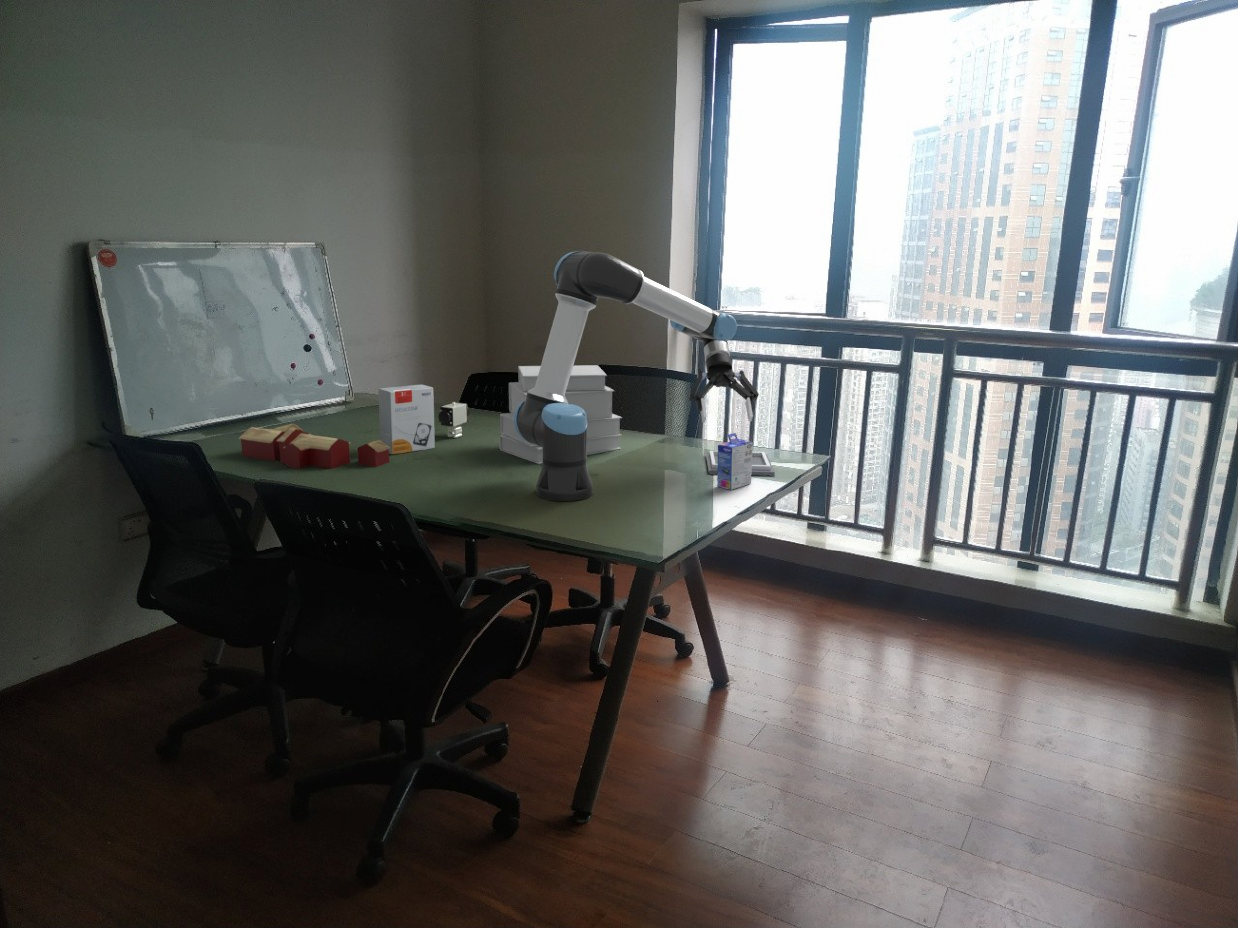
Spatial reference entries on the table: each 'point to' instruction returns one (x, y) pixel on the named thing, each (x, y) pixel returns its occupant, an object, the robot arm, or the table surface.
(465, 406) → the pneumatic valve
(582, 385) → the book stack
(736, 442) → the ink cartridge box
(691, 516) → the table surface
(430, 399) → the hard drive box
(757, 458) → the dock board
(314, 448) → the toy houses
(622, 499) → the table surface
